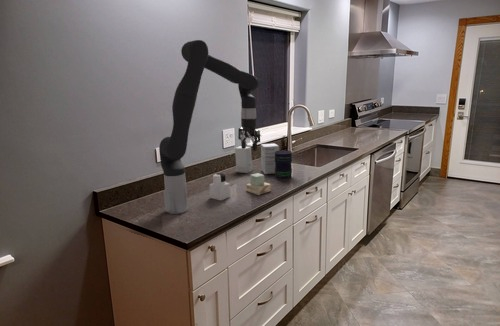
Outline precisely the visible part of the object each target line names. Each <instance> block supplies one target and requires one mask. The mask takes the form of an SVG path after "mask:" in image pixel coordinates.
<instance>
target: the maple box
mask: <svg viewBox="0 0 500 326" xmlns="http://www.w3.org/2000/svg"><path fill="white" fill-rule="evenodd" d="M245 186H246V187H245V188H246V189H245V190H246V192H249V193H250V194H251V193H252V194H254V195H256V196H260V195H262V194H265V193H269V192H272V184H271V183H268V182H266V181H264V185H260V186H254V185H252V184H251V182H250V183H247V184H246V185H245Z"/></svg>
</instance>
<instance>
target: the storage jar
mask: <svg viewBox="0 0 500 326" xmlns="http://www.w3.org/2000/svg"><path fill="white" fill-rule="evenodd" d="M292 155H293V154H292V151H291V150H286V149H285V150H284V149H282V150H280V149H279V151H275V173H274V177H275V179H277V180H283V181H284V180H285V181H286V180H290V179H292V173H293V169H292V162H293V160H292V159H293V156H292Z"/></svg>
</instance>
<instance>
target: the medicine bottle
mask: <svg viewBox="0 0 500 326" xmlns="http://www.w3.org/2000/svg"><path fill="white" fill-rule="evenodd" d="M226 178H227V176H226V174H225V173H223V172H217V173H215V174H213V175H212V181H213V182H212V183H210V184H209V193H210V194H209V195H210V196H209V197H210V199H213V200H216V201H220V202H221V201H223V200H225V199H228V198H230V197H231V184H230V182H227V181H226V180H227V179H226Z"/></svg>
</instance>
